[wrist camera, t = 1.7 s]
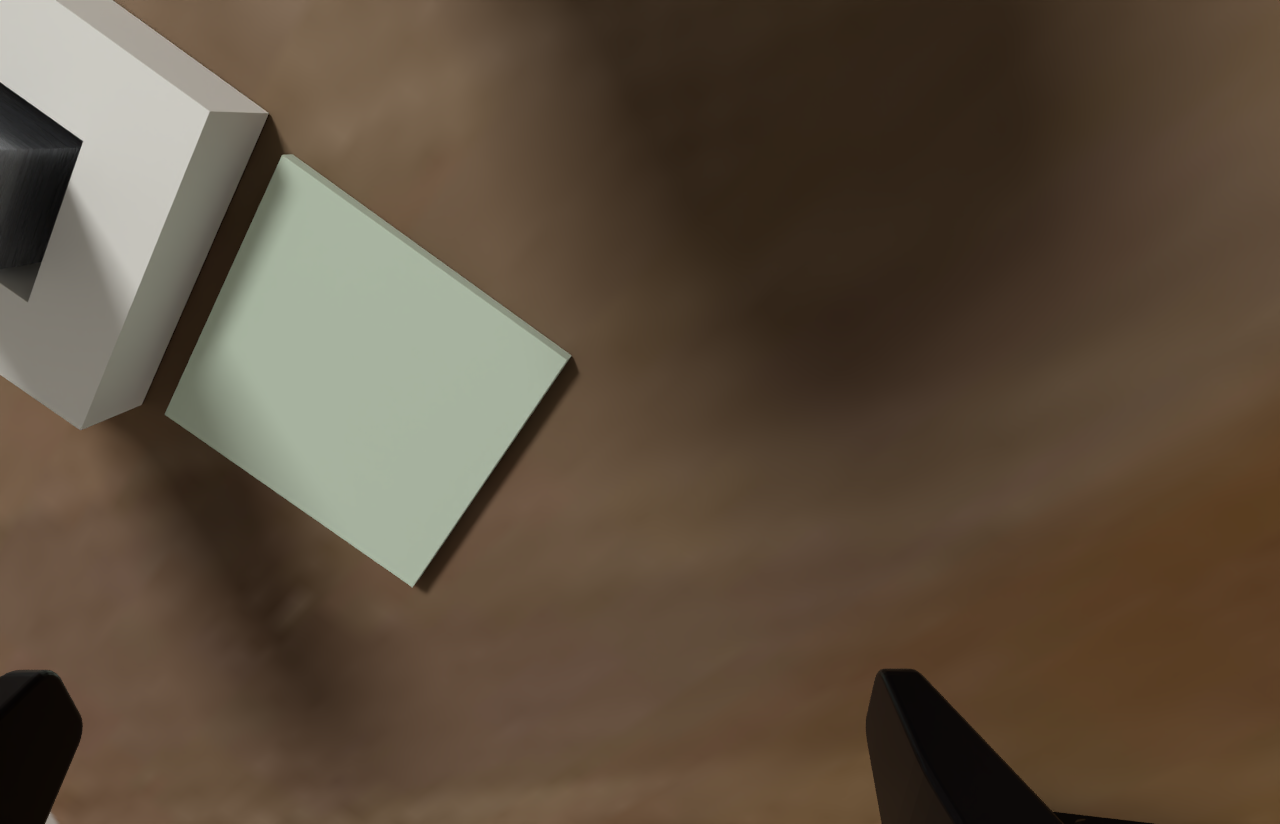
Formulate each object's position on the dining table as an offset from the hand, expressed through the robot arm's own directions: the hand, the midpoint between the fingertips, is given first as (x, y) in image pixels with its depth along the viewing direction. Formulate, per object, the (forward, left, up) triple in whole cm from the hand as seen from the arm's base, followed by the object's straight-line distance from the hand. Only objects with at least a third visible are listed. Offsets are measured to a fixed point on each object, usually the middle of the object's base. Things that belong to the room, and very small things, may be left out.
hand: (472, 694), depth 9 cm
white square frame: (+5, +15, -11) cm, 19 cm away
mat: (0, +7, -11) cm, 13 cm away
